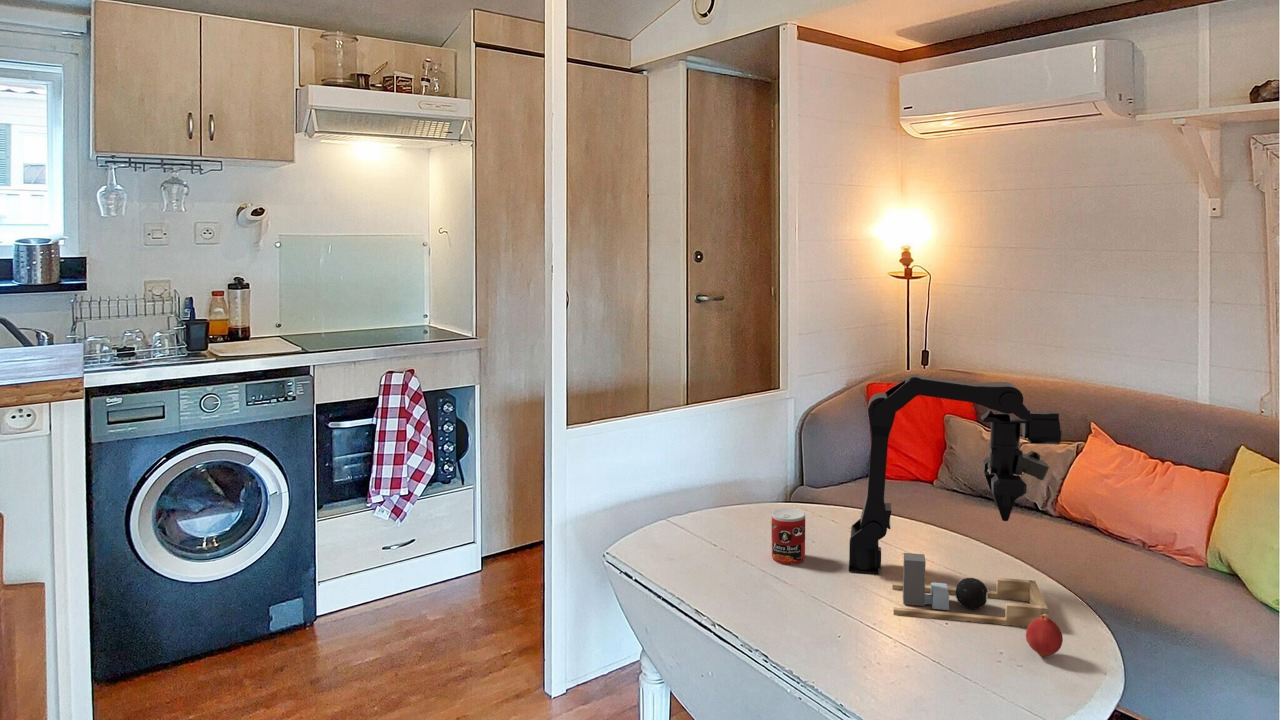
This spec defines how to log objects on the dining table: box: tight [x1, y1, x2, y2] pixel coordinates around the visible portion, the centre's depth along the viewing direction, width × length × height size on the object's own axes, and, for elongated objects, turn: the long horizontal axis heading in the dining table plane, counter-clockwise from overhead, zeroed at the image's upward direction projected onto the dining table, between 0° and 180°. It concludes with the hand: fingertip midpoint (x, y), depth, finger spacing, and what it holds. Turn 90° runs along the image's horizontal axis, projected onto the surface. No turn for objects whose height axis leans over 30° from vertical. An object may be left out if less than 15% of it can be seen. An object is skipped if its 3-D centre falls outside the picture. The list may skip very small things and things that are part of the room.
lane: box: [891, 582, 1007, 626], centre depth 167 cm, size 20×13×1 cm, turn 74°
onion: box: [1025, 614, 1064, 658], centre depth 145 cm, size 6×6×8 cm
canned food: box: [771, 507, 806, 566], centre depth 193 cm, size 8×8×11 cm
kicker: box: [902, 552, 950, 611], centre depth 168 cm, size 8×6×9 cm
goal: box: [996, 577, 1049, 628], centre depth 163 cm, size 7×13×4 cm, turn 164°
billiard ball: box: [955, 577, 989, 610], centre depth 165 cm, size 6×6×6 cm
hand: (1002, 513), depth 177 cm, fingers open, 9 cm apart
